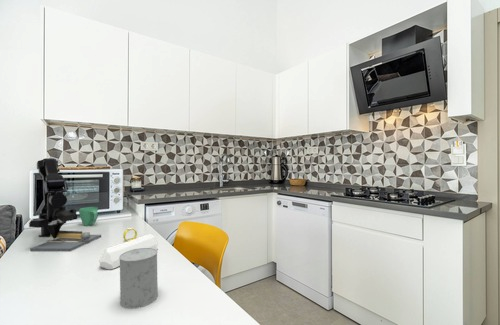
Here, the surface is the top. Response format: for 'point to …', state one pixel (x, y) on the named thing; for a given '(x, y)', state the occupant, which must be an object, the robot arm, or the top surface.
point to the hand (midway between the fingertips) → (54, 238)
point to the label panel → (64, 244)
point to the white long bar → (125, 250)
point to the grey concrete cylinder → (138, 277)
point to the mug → (88, 215)
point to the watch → (129, 230)
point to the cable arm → (73, 234)
